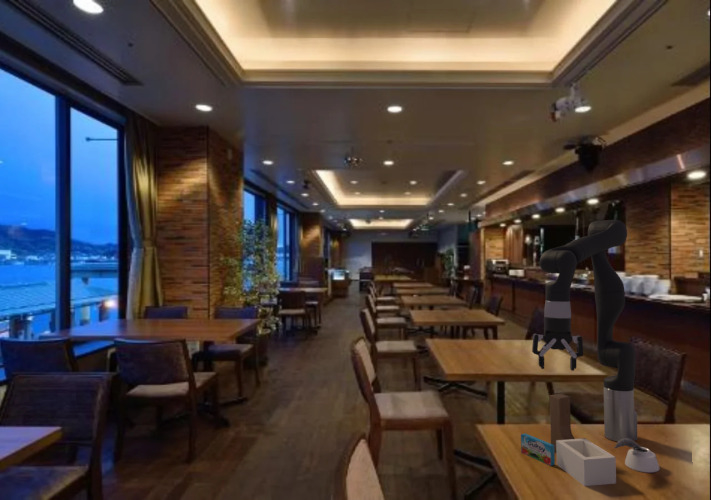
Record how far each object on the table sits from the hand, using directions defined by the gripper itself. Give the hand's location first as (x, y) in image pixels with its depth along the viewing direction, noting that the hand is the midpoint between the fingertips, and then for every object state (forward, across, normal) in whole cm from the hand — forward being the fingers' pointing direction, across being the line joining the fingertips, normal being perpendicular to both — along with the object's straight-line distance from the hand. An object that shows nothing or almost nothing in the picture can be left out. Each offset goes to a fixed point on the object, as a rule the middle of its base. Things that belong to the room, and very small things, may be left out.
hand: (557, 369), depth 153 cm
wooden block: (+29, -5, -10) cm, 31 cm away
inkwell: (+29, -22, -1) cm, 36 cm away
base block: (+29, -7, +4) cm, 30 cm away
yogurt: (+29, +5, -5) cm, 30 cm away
